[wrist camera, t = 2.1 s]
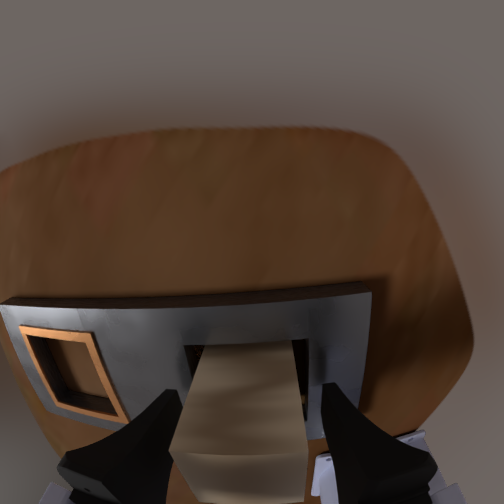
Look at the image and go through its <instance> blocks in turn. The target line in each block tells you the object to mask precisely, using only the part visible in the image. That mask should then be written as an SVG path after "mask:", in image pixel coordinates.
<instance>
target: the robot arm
mask: <svg viewBox="0 0 504 504" xmlns="http://www.w3.org/2000/svg"><path fill="white" fill-rule="evenodd" d="M182 410H183V406H182V403H181V400H180V397H179V394H178V391H177V390H176V389H165V390H164V391H163V392H162V393H161V394H160V395H159V396H158V397H157V398H156V399H155V400H154V401H153V402H152V403H151V404H150V405H149V406H148V407H147V408H146V409H145V410H144V411H143V412H141V413H140V414H139V415H138V416H137V417H136V418H134V419H133V420H132V421H131V422H129V423H128V424H127V425H125V426H124V427H123V428H121V429H120V430H118V431H116V432H115V433H113V434H111V435H110V436H108V437H106V438H104V439H102V440H100V441H98V442H95V443H93V444H90V445H88V446H85V447H82V448H79V449H75V450H71V451H67V452H66V453H65V455H64V456H63V458H62V459H61V461H60V463H59V464H58V466H57V470H58V472H59V474H60V475H61V476H62V477H63V478H64V479H65V480H66V481H67V482H68V483H69V484H70V485H71V486H72V487H73V488H74V489H73V491H72V492H71V491H69V490H68V489H66V488H64V487H62V486H60V485H58V484H56V483H54V482H51V483H50V484H49V486H48V488H47V489H46V491H45V493H44V494H43V496H42V498H41V500H40V501H39V503H38V504H166V495H167V489H168V483H169V477H170V472H171V468H172V464H173V461H174V460H173V458H172V456H171V454H170V452H169V448H170V445H171V442H172V439H173V436H174V433H175V430H176V427H177V424H178V421H179V419H180V416H181V413H182ZM320 412H321V418H322V425H323V430H324V433H325V437H326V440H327V444H328V447H329V451H330V453H326V454H321V455H318V456H317V457H316V462H315V469H314V476H313V483H312V490H311V495H312V496H319V495H320V496H321V504H467V503H466V500H465V498H464V496H463V494H462V492H461V490H460V488H459V486H458V484H457V483H454V484H452V485H450V486H448V487H447V486H446V483H445V480H444V479H443V477H442V474H441V472H440V470H439V468H438V466H437V464H436V462H435V460H434V458H433V456H432V454H431V452H430V450H429V448H428V446H427V444H426V442H425V440H424V439H423V438H424V436H425V434H426V432H425V431H424V430H420V431H416V432H413V433H410V434H407V435H404V436H401V437H398V438H394V437H392V436H391V435H389V434H387V433H386V432H384V431H383V430H381V429H380V428H379V427H377V426H376V425H375V424H374V423H372V422H371V421H370V420H369V419H368V418H367V417H365V416H364V415H363V414H362V413H361V412H360V411H359V410H358V409H357V408H356V407H355V406H354V404H353V403H352V402H351V401H350V400H349V399H348V398H347V397H346V395H345V394H344V393H343V392H342V390H341V389H340V388H339V386H338V385H337V383H335V382H331V383H324V384H322V397H321V411H320Z"/></svg>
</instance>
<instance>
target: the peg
mask: <svg viewBox="0 0 504 504" xmlns="http://www.w3.org/2000/svg"><path fill="white" fill-rule="evenodd" d="M169 452H170V454H171V456H172V458H173V460H174V462H175V463H176V465H177V467H178V469H179V470H180V472H181V474H182V475H183V477H184V479H185V480H186V482H187V484H188V485H189V487H190V488H191V490H192V492H193V493H194V495H195V496H196V498H197V499H198V501H199V502H207V503H220V504H282V503H295V502H304V494H305V484H306V474H307V463H308V444H307V437H306V430H305V424H304V417H303V410H302V404H301V397H300V391H299V384H298V378H297V372H296V365H295V359H294V353H293V347H292V341H291V340H286V341H274V342H260V343H243V344H218V345H205V347H204V350H203V353H202V355H201V358H200V361H199V364H198V367H197V370H196V372H195V375H194V378H193V381H192V384H191V387H190V390H189V392H188V395H187V398H186V401H185V404H184V407H183V410H182V413H181V416H180V419H179V421H178V424H177V427H176V430H175V433H174V436H173V439H172V442H171V445H170V448H169Z"/></svg>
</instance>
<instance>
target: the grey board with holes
mask: <svg viewBox="0 0 504 504" xmlns="http://www.w3.org/2000/svg"><path fill="white" fill-rule="evenodd" d="M371 301H372V291H371V290H370V289H369V288H368V287H367V286H366V285H365V284H364V283H363V282H362V281H359V282H351V283H342V284H332V285H323V286H313V287H302V288H291V289H280V290H268V291H255V292H242V293H227V294H211V295H193V296H172V297H146V298H105V299H41V298H9V299H7V300H6V301H4V302H2V303H0V311H1V314H2V317H3V320H4V323H5V326H6V328H7V331H8V334H9V336H10V339H11V341H12V343H13V346H14V348H15V351H16V353H17V355H18V357H19V360H20V362H21V364H22V366H23V368H24V370H25V372H26V374H27V376H28V378H29V380H30V382H31V384H32V386H33V388H34V389H35V391H36V393H37V395H38V397H39V398H40V400H41V402H42V403H43V405H44V407H45V408H46V410H47V411H49V412H52V413H55V414H58V415H61V416H63V417H67V418H70V419H73V420H76V421H79V422H83V423H86V424H90V425H94V426H97V427H101V428H106V429H110V430H114V431H118V430H120V429H121V428H123V427H124V426H125V425H127V424H128V423H129V422H131V421H132V420H133V419H134V418H136V417H137V416H138V415H139V414H140V413H141V412H143V411H144V410H145V409H146V408H147V407H148V406H149V405H150V404H151V403H152V402H153V401H154V400H155V399H156V398H157V397H158V396H159V395H160V394H161V393H162V392H163V391H164V390H165V389H176V390H177V391H178V394H179V397H180V400H181V403H182V406H183V407H184V404H185V401H186V398H187V395H188V392H189V390H190V387H191V384H192V381H193V378H194V375H195V372H196V370H197V367H198V362H197V358H196V354H195V349H194V345H218V344H243V343H260V342H274V341H286V340H297V339H305V405H302V410H303V417H304V424H305V430H306V437H307V440H312V439H319V438H326V437H325V433H324V430H323V425H322V418H321V412H320V411H321V397H322V384H324V383H331V382H335V383H337V385H338V386H339V388H340V389H341V390H342V392H343V393H344V394H345V395H346V397H347V398H348V399H349V400H350V401H351V402H352V403H353V404H354V406H355V407H356V408H357V409H358V404H359V399H360V394H361V388H362V382H363V375H364V369H365V362H366V354H367V346H368V337H369V327H370V315H371ZM45 337H46V338H53V339H61V340H69V341H78V342H86V345H87V347H88V350H89V353H90V355H91V358H92V360H93V363H94V365H95V367H96V370H97V372H98V374H99V377H100V379H101V381H102V383H103V386H104V388H105V390H106V392H107V394H108V396H109V398H110V399H107V398H102V397H97V396H92V395H87V394H83V393H78V392H74V391H70V390H68V389H67V387H66V385H65V383H64V381H63V379H62V377H61V375H60V372H59V370H58V368H57V366H56V364H55V362H54V359H53V357H52V355H51V352H50V350H49V347H48V345H47V343H46V340H45Z"/></svg>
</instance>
